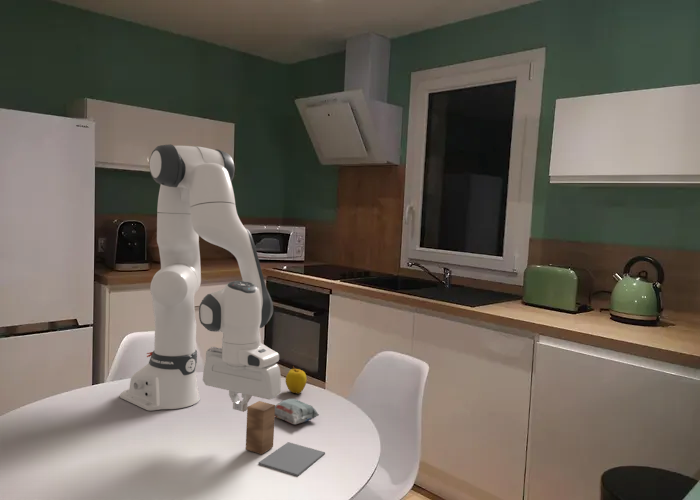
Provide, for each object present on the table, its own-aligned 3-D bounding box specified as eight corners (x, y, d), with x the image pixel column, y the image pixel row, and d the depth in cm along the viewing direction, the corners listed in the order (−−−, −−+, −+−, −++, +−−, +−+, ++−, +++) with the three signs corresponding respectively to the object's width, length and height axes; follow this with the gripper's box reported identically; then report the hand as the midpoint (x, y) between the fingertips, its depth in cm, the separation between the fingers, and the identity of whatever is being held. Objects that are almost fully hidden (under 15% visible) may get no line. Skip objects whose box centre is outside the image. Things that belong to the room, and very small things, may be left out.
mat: (258, 464, 114) (258, 462, 114) (288, 443, 124) (288, 442, 124) (297, 476, 109) (297, 474, 109) (325, 453, 120) (325, 452, 120)
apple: (285, 389, 162) (286, 363, 162) (305, 389, 163) (306, 364, 163) (284, 396, 156) (286, 370, 156) (306, 396, 157) (307, 370, 156)
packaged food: (294, 431, 132) (296, 412, 131) (264, 417, 140) (265, 399, 139) (319, 423, 138) (320, 404, 138) (289, 410, 146) (290, 393, 146)
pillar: (245, 450, 120) (247, 406, 119) (257, 443, 124) (259, 401, 123) (261, 455, 118) (263, 411, 117) (273, 447, 122) (275, 404, 121)
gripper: (197, 348, 123) (196, 405, 124) (269, 362, 114) (267, 423, 115) (215, 342, 129) (214, 397, 130) (285, 355, 120) (283, 414, 121)
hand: (240, 409), depth 122 cm, fingers closed
